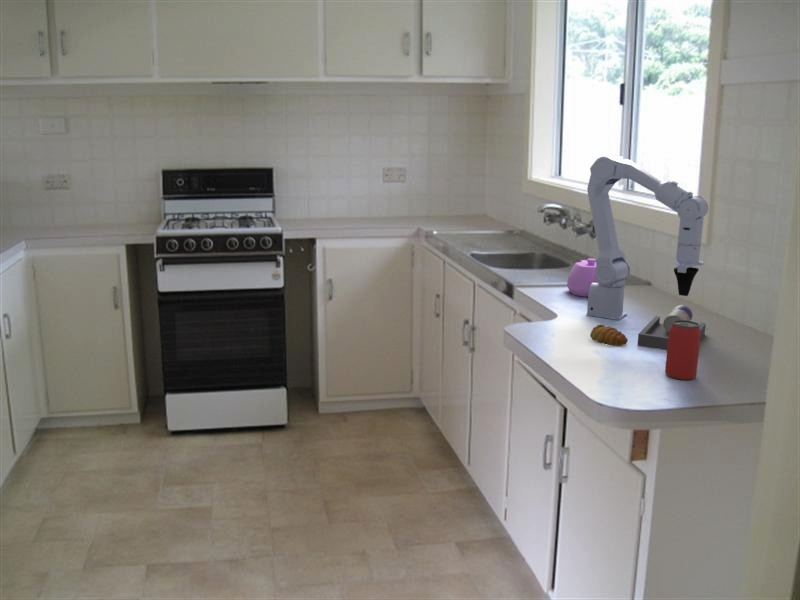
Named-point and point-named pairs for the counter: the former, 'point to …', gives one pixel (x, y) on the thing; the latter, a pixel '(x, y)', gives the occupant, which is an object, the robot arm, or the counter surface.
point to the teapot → (582, 277)
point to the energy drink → (677, 316)
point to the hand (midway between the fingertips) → (683, 295)
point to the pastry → (608, 335)
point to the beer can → (683, 350)
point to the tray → (658, 335)
